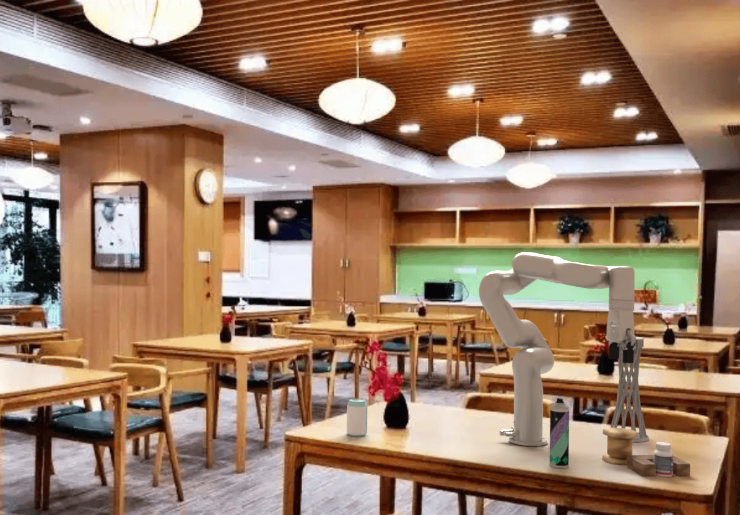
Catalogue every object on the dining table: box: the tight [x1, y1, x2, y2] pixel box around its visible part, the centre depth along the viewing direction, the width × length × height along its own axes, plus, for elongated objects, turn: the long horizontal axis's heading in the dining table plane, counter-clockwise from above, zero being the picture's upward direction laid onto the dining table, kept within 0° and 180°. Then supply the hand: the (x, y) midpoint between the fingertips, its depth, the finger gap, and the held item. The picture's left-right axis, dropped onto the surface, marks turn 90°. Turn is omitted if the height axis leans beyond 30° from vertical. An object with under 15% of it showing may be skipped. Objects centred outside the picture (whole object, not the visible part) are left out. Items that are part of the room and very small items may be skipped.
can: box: [346, 398, 368, 437], centre depth 245 cm, size 7×7×12 cm
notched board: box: [626, 454, 691, 478], centre depth 206 cm, size 14×10×4 cm
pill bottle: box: [653, 441, 674, 478], centre depth 203 cm, size 5×5×9 cm
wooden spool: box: [601, 427, 638, 466], centre depth 217 cm, size 10×10×9 cm
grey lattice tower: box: [610, 336, 650, 443], centre depth 249 cm, size 14×13×35 cm
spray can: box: [549, 397, 570, 469], centre depth 210 cm, size 6×6×20 cm
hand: (620, 360), depth 220 cm, fingers open, 9 cm apart
